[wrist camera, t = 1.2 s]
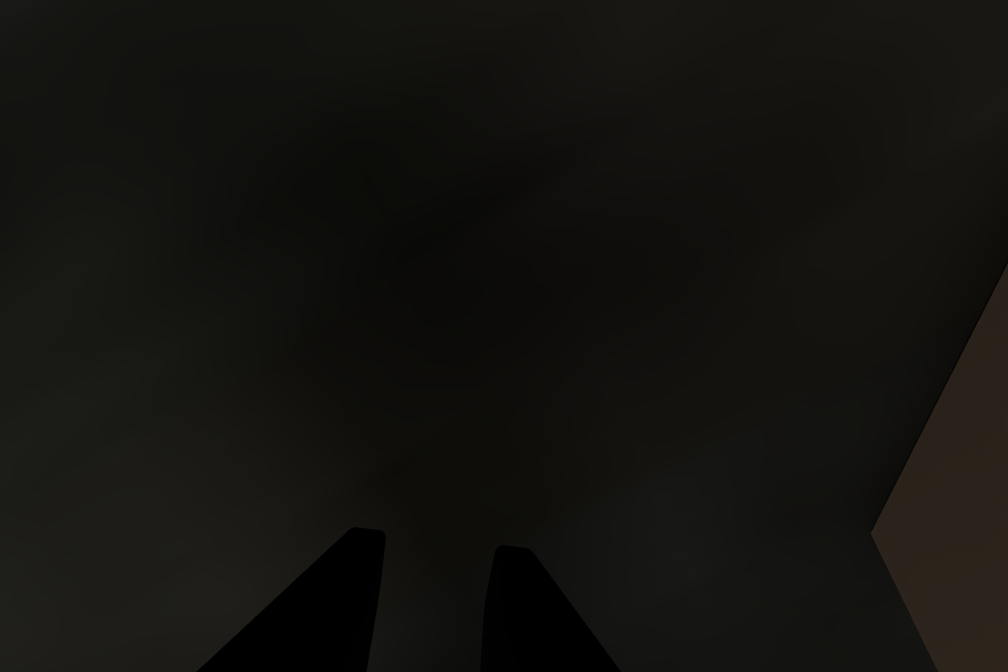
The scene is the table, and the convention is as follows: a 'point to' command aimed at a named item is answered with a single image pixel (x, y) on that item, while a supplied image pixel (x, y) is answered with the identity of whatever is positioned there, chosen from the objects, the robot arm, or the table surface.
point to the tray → (958, 509)
